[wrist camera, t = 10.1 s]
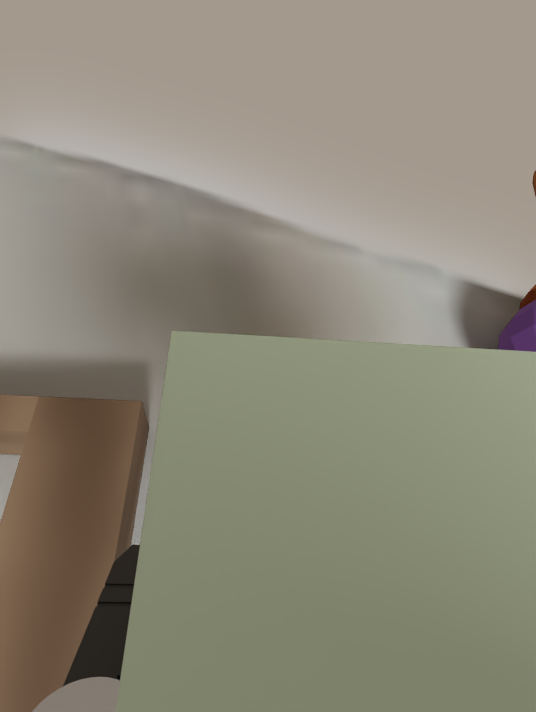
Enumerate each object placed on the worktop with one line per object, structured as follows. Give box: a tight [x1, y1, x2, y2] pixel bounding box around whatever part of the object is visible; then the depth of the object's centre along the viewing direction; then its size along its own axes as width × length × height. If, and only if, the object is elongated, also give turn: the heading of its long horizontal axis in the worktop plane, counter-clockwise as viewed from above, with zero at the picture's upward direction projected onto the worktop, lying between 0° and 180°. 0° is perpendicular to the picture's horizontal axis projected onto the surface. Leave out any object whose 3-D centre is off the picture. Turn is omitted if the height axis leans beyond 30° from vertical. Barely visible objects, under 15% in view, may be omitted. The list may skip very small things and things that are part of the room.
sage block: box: [115, 331, 536, 712], centre depth 8 cm, size 5×5×12 cm
